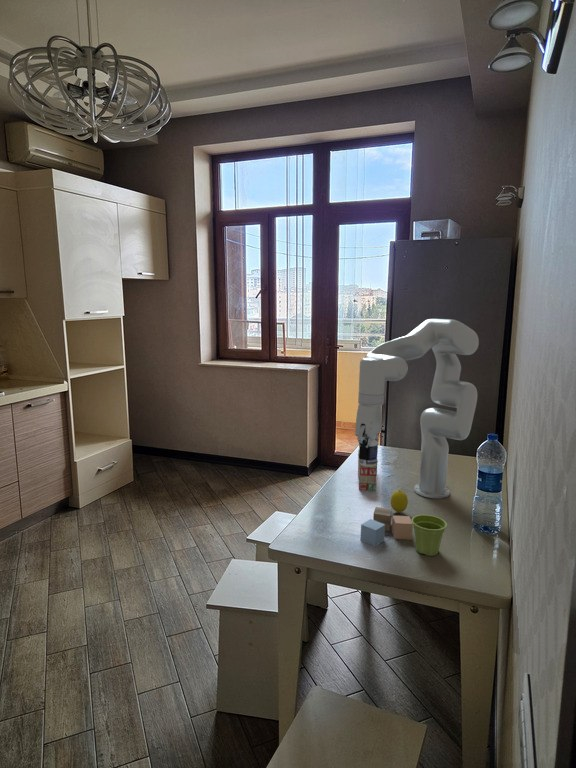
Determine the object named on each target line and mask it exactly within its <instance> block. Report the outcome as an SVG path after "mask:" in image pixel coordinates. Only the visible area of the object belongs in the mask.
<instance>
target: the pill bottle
mask: <svg viewBox="0 0 576 768" xmlns="http://www.w3.org/2000/svg"><path fill="white" fill-rule="evenodd" d="M364 437H367V435H364ZM363 439H364V438H363ZM375 439H376V435H375V436H373V437H371V438H370V443H369V447H370V459H369V460H368V461H367V460H362V459H359V463H360V464H361V465H363V466H368V467H372V466H375V465H376V464H377V465H378V463H377V460H378V453H377V449H379V441H378V442H377V441H376V440H375ZM364 440H365V441H366V442H367V439H364Z"/></svg>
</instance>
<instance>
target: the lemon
mask: <svg viewBox="0 0 576 768" xmlns="http://www.w3.org/2000/svg"><path fill="white" fill-rule="evenodd" d="M408 503H409V499H408V496H407V494H406V493H405V492H404V491H402V490H401V489H398V490H396V491H394V492H393V493H392V494H391V497H390V507H391V509H392V510H393V511H395V512H396V513H397V514H400V513H402V512H404V511H405V510H406V509H407V507H408Z"/></svg>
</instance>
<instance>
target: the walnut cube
mask: <svg viewBox="0 0 576 768" xmlns="http://www.w3.org/2000/svg"><path fill="white" fill-rule="evenodd" d="M392 513H393V508H387V507H380V506H379V507H378V506H375V508H374V510H373V519H372V520H375V521H377V522H380V523H383V524H385V532H386V531H387V532H389V531H390V529H391V527H392Z"/></svg>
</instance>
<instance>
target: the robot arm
mask: <svg viewBox="0 0 576 768" xmlns="http://www.w3.org/2000/svg"><path fill="white" fill-rule="evenodd" d="M479 345H480V341H479V336H478V334H477V332H476V331H475V330H473V329H472V328H470V327H469V326H468V325H466V324H465V323H463V322H461V321H459V320H456V319H454V318H453V319H451V318H428V319H425V320H424V321H423V322H421V323H420V324H418V325H417V326H416V327H415V328H414V329H413V330H411V331H410V332H408V333H407V334H406V335H404V336H401V337H400V336H399V337H398V338H394V339H392V340H389V341H386V342H384V343H381V344H379V345H377V346H376V347H374V348H373V349H372V350H370V351H369V352H368V353H367V354H366V355H365V356H364V357H363V358H361V359H360V361H359V374H358V375H359V376H358V379H359V380H358V400H357V401H358V403H357V404H358V405H357V412H356V418H355V419H356V420H355V426H354V427H355V429H354V430H355V431H354V435H355V436H356V437H357V439H356V440H357V442H358V450H359V459H362V460H367V461H368V460H369V459H370V447H369V443H370V438H371V437H373V436H375V435H376V439H375V440H376V441H377V442H378V443H379V441H380V440H379V437H380V433H381V431H382V426H383V405H384V402H385V401H384V400H385V386H386V385H385V383H386V382H388V381H390V382H397V381H400V380H402V379H404V378H405V377H406V375H407V374H408V370H409V368H408V366H409V365H408V363H407V361H410V360H411V361H412V360H416V359H420V358H422V357H424V355H425V354H427V352H429V351H430V350H431V351H432V352H433V354H434V358H435V362H436V367H435V372H434V376H433V381H432V387H431V390H430V391H431V392H430V398H431V401H432V402H433V403H435V404H438V405H441V406H445V407H451V408H455V409H456V411H454V410H449V409H444V408H439V407H428V408H426V409H424V410H423V411H422V412H421V414H420V419H419V420H420V421H419V423H420V424H419V425H420V432H421V446H420V447H421V448H420V458H419V459H420V462H419V475H418V476H419V477H418V483H416V484H414V485H413V486H414V487H413V491H414V492H415V493H416V495H419V496H421V497H423V498H424V497H425V498H429V499H445V498H447V497H449V496H450V490H449V488H448V487H446V486H447V473H448V464H449V463H448V462H449V461H448V460H449V450H450V449H449V443H448V441H447V439H451V440H457V441H464V440H466V439H467V438H468V437H469V435H470V432H471V429H472V425H473V420H474V416H475V412H476V408H477V403H478V389H477V388H476V386H475V385H474V384H473V383H471V382H468V381H462V380H460V377H461V371H462V365H461V361H460V360H459V357H458V355H462V356H463V355H464V356H470V355H473V354H474V353H475V352H476V351H477V350H478V348H479ZM364 435H367V437H364ZM363 438H364V439H367V442H366V441H365V440H364V439H363ZM378 449H379V448H378ZM378 449H377V454H378Z"/></svg>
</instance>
